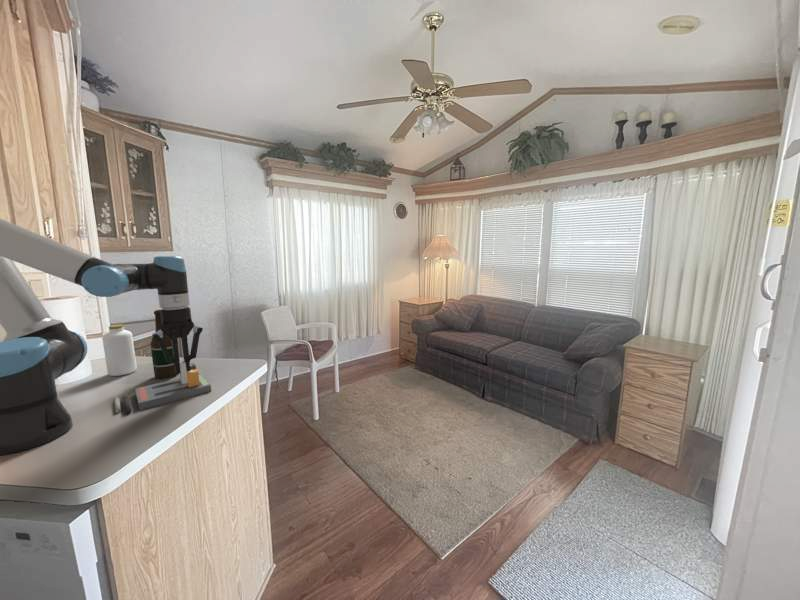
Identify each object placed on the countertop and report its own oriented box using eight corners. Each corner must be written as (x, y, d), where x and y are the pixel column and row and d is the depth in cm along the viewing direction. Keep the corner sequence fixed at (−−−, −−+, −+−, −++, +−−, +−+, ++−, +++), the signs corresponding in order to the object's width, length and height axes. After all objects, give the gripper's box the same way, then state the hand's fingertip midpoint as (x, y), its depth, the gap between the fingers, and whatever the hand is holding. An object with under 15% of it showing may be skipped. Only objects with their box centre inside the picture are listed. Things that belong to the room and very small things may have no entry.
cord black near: (131, 413, 90) (130, 408, 90) (125, 415, 89) (124, 410, 89) (128, 398, 99) (128, 394, 99) (122, 400, 98) (122, 395, 98)
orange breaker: (188, 387, 101) (186, 373, 101) (186, 384, 104) (185, 370, 103) (199, 384, 103) (198, 370, 103) (197, 382, 106) (196, 368, 105)
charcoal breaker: (186, 380, 107) (185, 367, 106) (184, 378, 109) (183, 365, 108) (197, 378, 109) (195, 365, 108) (195, 375, 111) (193, 362, 110)
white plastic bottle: (112, 371, 123) (105, 324, 121) (140, 367, 127) (133, 322, 124) (104, 378, 116) (96, 329, 113) (133, 374, 119) (126, 326, 117)
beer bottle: (186, 371, 122) (178, 308, 118) (169, 379, 114) (161, 312, 111) (166, 371, 123) (159, 308, 119) (149, 379, 115) (140, 312, 111)
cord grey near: (121, 412, 91) (120, 408, 91) (115, 413, 90) (114, 409, 90) (119, 399, 99) (119, 396, 98) (114, 401, 98) (113, 397, 98)
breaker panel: (139, 409, 92) (138, 403, 92) (135, 394, 102) (134, 388, 102) (211, 391, 104) (210, 384, 104) (201, 379, 114) (200, 373, 114)
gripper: (149, 312, 91) (160, 392, 95) (202, 306, 100) (210, 379, 103) (146, 309, 97) (157, 384, 100) (197, 303, 105) (205, 373, 109)
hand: (184, 382), depth 102 cm, fingers closed
